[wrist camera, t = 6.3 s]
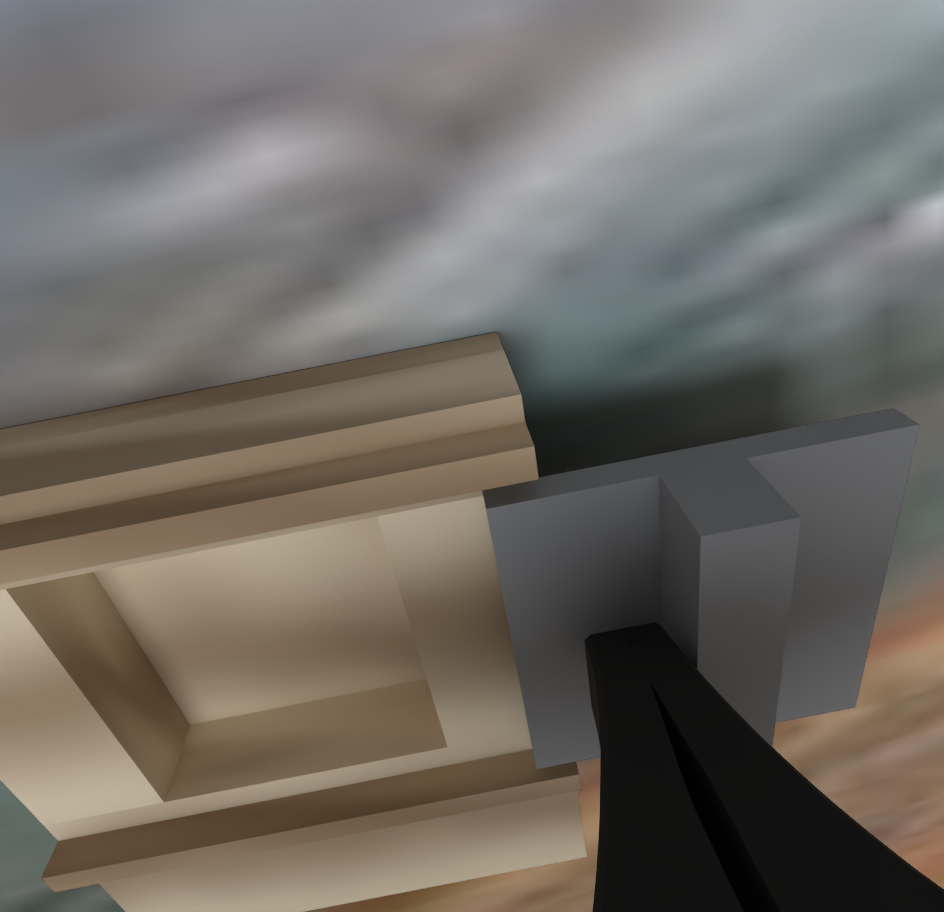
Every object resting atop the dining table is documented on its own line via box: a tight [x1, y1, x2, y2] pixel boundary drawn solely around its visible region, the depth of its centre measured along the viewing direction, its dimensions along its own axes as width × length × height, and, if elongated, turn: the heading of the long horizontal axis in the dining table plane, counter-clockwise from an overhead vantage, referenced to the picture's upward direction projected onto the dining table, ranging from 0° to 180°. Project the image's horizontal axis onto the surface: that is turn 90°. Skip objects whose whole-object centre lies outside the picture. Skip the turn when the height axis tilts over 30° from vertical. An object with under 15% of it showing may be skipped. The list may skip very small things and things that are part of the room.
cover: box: [482, 408, 919, 769], centre depth 11 cm, size 7×7×2 cm
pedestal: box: [0, 332, 587, 912], centre depth 14 cm, size 14×12×4 cm
